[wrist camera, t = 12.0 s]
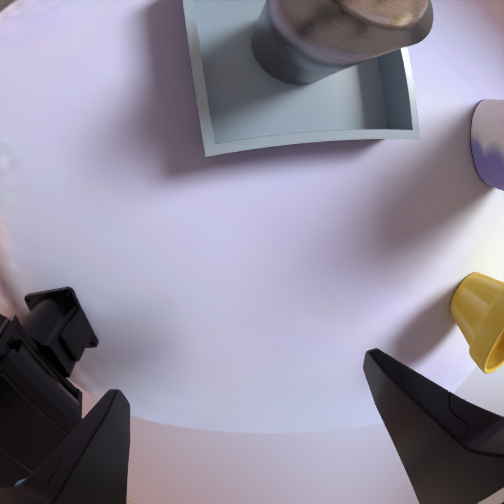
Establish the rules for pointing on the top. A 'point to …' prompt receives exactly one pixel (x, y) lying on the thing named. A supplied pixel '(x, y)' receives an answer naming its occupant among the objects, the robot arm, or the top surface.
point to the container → (489, 141)
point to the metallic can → (333, 34)
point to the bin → (287, 89)
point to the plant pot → (481, 319)
